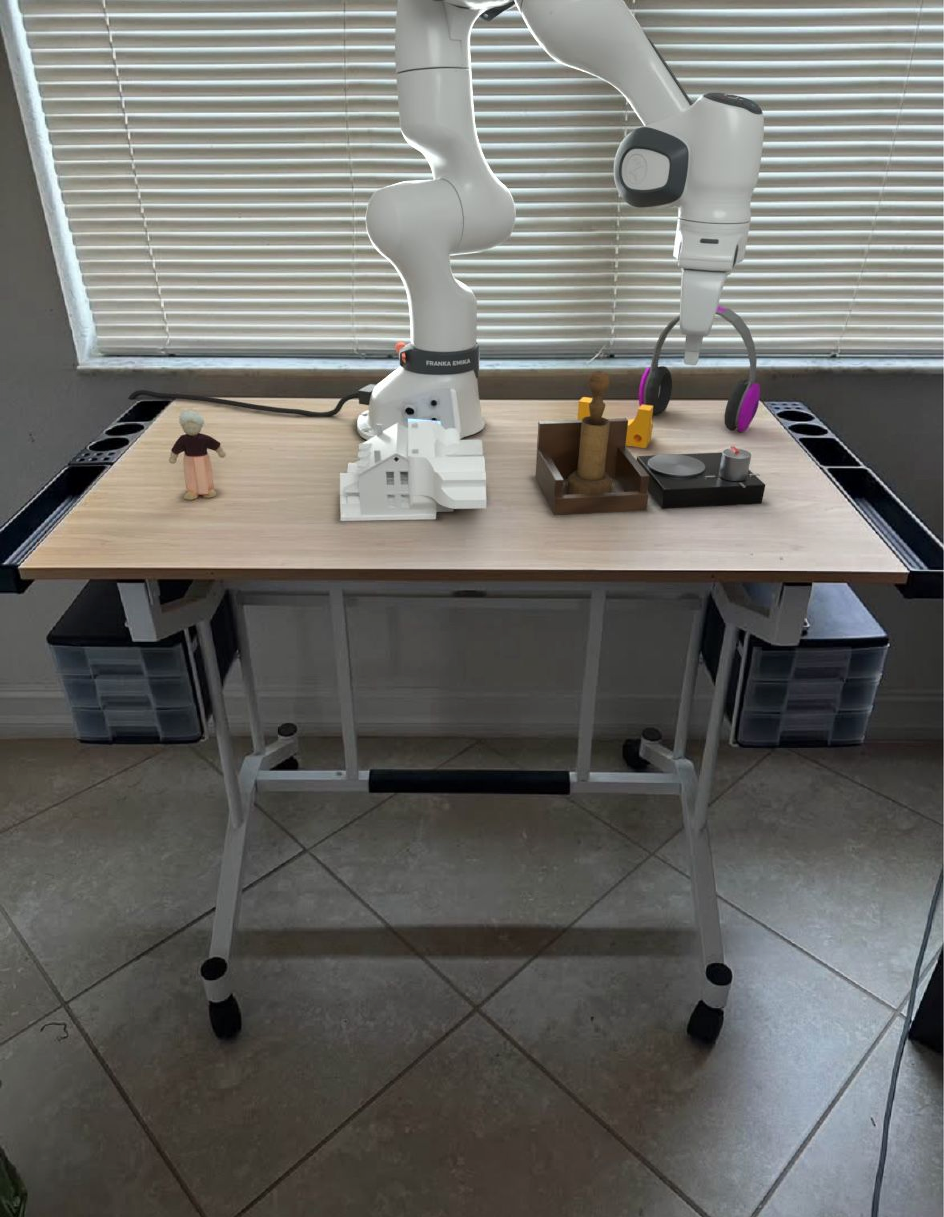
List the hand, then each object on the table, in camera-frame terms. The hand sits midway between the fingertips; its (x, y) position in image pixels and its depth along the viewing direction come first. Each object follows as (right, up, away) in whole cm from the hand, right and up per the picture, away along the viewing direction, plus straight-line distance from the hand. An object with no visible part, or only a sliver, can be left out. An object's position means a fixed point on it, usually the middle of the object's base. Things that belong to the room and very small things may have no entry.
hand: (692, 354), depth 114 cm
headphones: (+10, -1, +38) cm, 40 cm away
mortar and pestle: (-13, -18, +11) cm, 24 cm away
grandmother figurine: (-69, -18, +9) cm, 72 cm away
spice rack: (-13, -17, +11) cm, 24 cm away
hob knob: (+8, -15, +9) cm, 19 cm away
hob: (+4, -16, +12) cm, 21 cm away
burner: (+1, -13, +12) cm, 18 cm away
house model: (-38, -20, +6) cm, 44 cm away
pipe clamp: (-6, -6, +30) cm, 31 cm away
